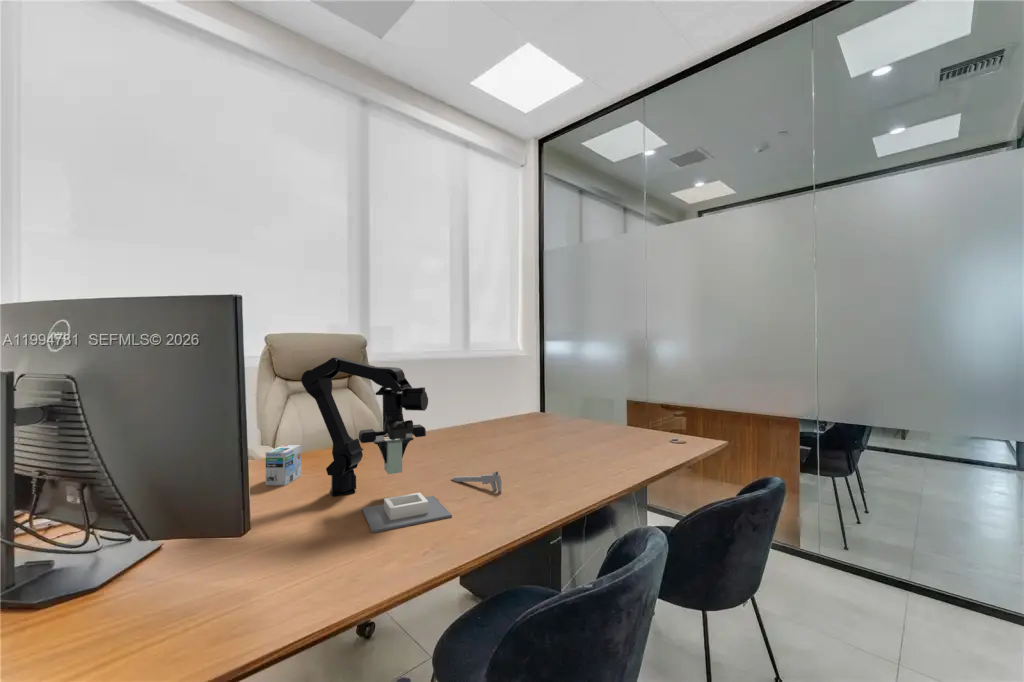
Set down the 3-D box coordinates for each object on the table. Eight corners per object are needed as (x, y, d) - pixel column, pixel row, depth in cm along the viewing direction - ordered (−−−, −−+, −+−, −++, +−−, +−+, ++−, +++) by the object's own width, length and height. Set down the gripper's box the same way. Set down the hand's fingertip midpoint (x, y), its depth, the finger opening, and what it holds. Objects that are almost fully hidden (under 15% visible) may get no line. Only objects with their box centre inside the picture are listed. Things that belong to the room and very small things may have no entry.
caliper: (501, 492, 133) (501, 471, 133) (499, 493, 132) (499, 472, 132) (452, 480, 145) (452, 461, 145) (450, 481, 144) (450, 462, 144)
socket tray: (372, 533, 104) (372, 518, 104) (362, 510, 118) (362, 497, 118) (451, 516, 114) (451, 503, 114) (433, 497, 128) (433, 485, 128)
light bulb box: (285, 486, 139) (285, 452, 139) (264, 486, 139) (264, 452, 139) (302, 475, 150) (302, 444, 150) (282, 475, 150) (282, 444, 150)
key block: (388, 474, 127) (388, 443, 127) (384, 469, 132) (384, 439, 132) (402, 472, 128) (401, 441, 128) (397, 467, 134) (397, 437, 134)
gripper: (364, 416, 119) (364, 473, 119) (430, 411, 127) (431, 464, 127) (358, 411, 129) (358, 463, 129) (420, 406, 137) (420, 455, 137)
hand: (393, 462), depth 130 cm, fingers closed on key block, 4 cm apart
